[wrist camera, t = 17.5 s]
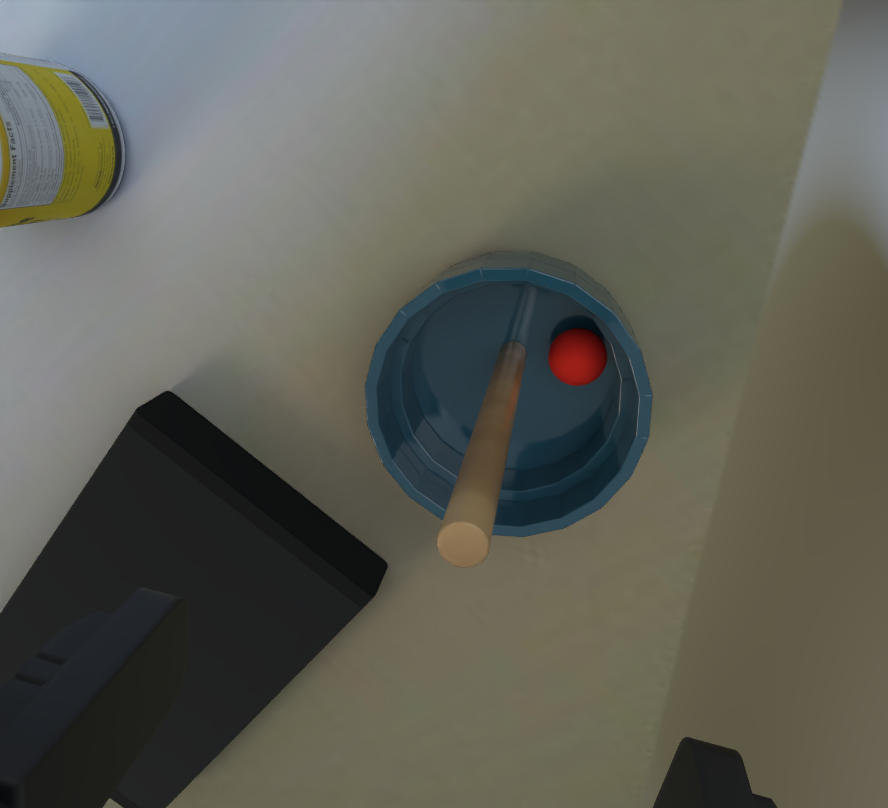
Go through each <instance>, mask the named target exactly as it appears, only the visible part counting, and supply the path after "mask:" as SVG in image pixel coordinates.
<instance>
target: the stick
mask: <svg viewBox="0 0 888 808" xmlns="http://www.w3.org/2000/svg"><path fill="white" fill-rule="evenodd" d="M526 358H527V351H526V348H525V347H524V346H523V345H522V344H521V343H519V342H517V341H509V342H507V343H505V344H504V345H503V346H502V347H501V349H500V352H499V355H498V358H497V361H496V364H495V367H494V370H493V373H492V376H491V379H490V382H489V385H488V388H487V391H486V394H485V397H484V400H483V403H482V406H481V409H480V412H479V414H478V417H477V420H476V423H475V426H474V429H473V432H472V435H471V438H470V441H469V444H468V447H467V450H466V453H465V456H464V459H463V462H462V465H461V468H460V471H459V474H458V477H457V480H456V483H455V486H454V489H453V492H452V495H451V498H450V501H449V504H448V507H447V510H446V513H445V516H444V519H443V522H442V524H441V527H440V530H439V533H438V537H437V547H438V550H439V552H440V554H441V556H442V557H443V558H444V559H445V560H446V561H447V562H449V563H450V564H452V565H454V566H457V567H464V568H466V567H473V566H475V565H477V564H479V563H481V562H482V561H483V560H484V559H485V558H486V556H487V554H488V552H489V547H490V542H491V537H492V532H493V527H494V522H495V517H496V512H497V506H498V501H499V496H500V491H501V486H502V481H503V476H504V471H505V465H506V460H507V455H508V450H509V445H510V440H511V435H512V430H513V424H514V419H515V414H516V409H517V404H518V399H519V394H520V389H521V384H522V378H523V373H524V368H525V363H526Z"/></svg>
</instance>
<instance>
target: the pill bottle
mask: <svg viewBox="0 0 888 808" xmlns="http://www.w3.org/2000/svg"><path fill="white" fill-rule="evenodd" d="M124 165H125V145H124V138H123V134H122V130H121V127H120V124H119V121H118V119H117V117H116V114H115V113H114V111H113V109H112V107H111V106H110V104H109V102H108V101H107V100H106V98H105V97H104V95H103V94H102V93H101V92H100V91H99V89H98V88H97V87H96V86H95V85H94V84H93V83H91V82H90V81H89V80H88V79H87V78H85V77H84V76H82V75H81V74H79V73H78V72H76V71H74V70H73V69H71V68H68V67H66V66H63V65H61V64H57V63H53V62H49V61H44V60H37V59H32V58H26V57H20V56H14V55H9V54H3V53H0V227H8V226H15V225H22V224H29V223H37V222H44V221H51V220H58V219H65V218H72V217H78V216H82V215H86V214H89V213H91V212H93V211H95V210H97V209H98V208H100V207H101V206H103V205H104V204H105V203H106V202H107V201H108V200H109V199H110V198H111V197H112V196H113V194H114V193H115V191H116V190H117V188H118V186H119V184H120V181H121V178H122V175H123V171H124Z"/></svg>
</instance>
